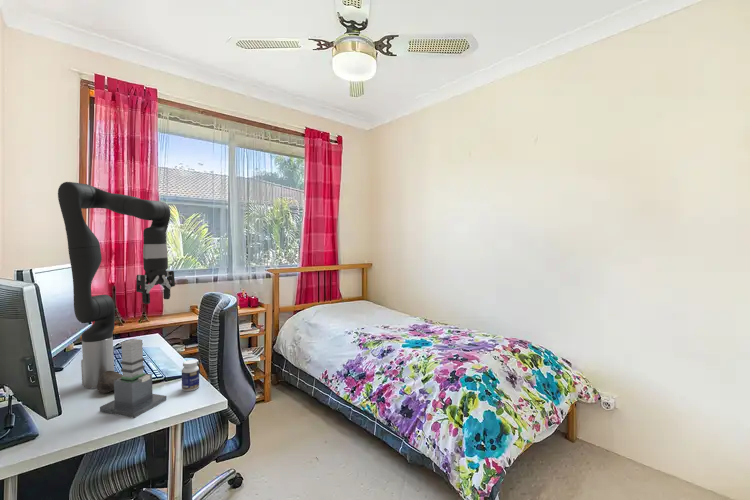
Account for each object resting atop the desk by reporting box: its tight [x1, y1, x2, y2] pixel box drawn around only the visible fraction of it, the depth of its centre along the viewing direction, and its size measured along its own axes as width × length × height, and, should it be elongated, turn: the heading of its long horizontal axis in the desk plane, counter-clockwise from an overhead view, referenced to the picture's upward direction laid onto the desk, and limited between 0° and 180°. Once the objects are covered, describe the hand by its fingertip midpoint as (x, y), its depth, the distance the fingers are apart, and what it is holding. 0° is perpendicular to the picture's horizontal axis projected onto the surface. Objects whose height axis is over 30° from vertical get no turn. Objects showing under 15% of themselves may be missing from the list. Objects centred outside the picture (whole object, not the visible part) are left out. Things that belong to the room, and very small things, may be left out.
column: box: [120, 338, 146, 382], centre depth 119 cm, size 5×5×15 cm
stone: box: [96, 370, 123, 395], centre depth 131 cm, size 10×8×10 cm
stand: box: [99, 373, 167, 418], centre depth 120 cm, size 14×12×10 cm
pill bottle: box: [181, 359, 200, 392], centre depth 133 cm, size 6×6×10 cm
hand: (157, 301), depth 131 cm, fingers open, 8 cm apart
